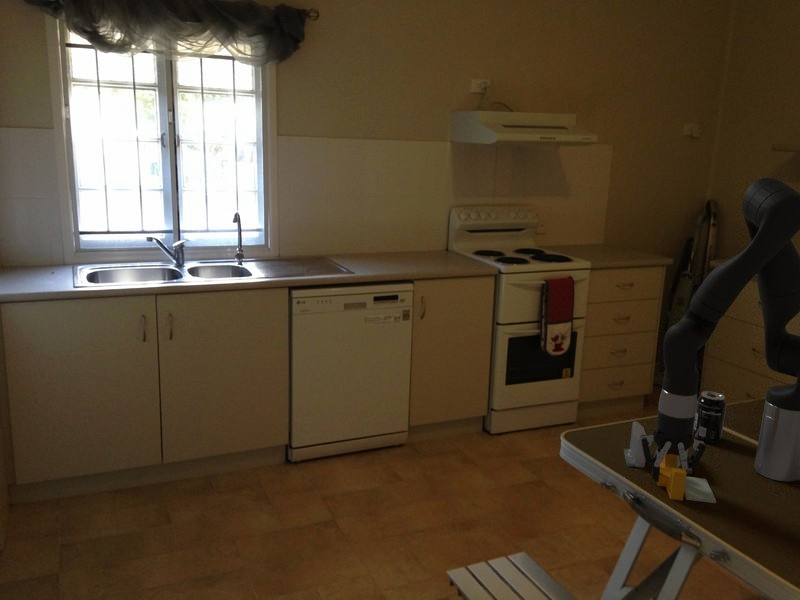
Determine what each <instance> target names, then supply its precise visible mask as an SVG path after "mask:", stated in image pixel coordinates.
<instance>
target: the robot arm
mask: <svg viewBox="0 0 800 600" xmlns="http://www.w3.org/2000/svg"><path fill="white" fill-rule="evenodd" d="M741 212H742V216H743V218H744V222H745V224H746V229H747V231H748V234H749V238H750V241H751V242H750V243H749V244H748V245H747V246H746V247H745V249H743V250H742V251H741V252H739V253H738V254H736V255H735V256H733V257H731V258H729V259H728V260H726V261H723V263H721V264H719V265H718V266H716V267H715V268H713V270H711V272H709V274H708V275H707V276H706V277H705V278H704V280H703V282H702V283H701V284H700V286H699V288H698V289H697V290H696V292H695V293H694V295H693V296H692V298H691V300H690V303H689V308H687V311H686V312H685V314H684V315H683V316H682V318H681V319H680V320H679V322H677V323H675V324H673V325H672V326H670V327H669V328H668V329H667V331H666V333H665V335H664V339H663V345H662V351H663V352H662V355H663V364H664V373H663V379H662V387H661V393H660V394H659V400H658V405H657V407H658V410H657V416H656V417H657V418H656V425H655V426H656V427H655V430H654V432H653V434H651V435H646V436H645V435H644V434H642V435H641V436H640V438H641V443H642V448H643V452H644V457H645V464H646V463H647V464H650V465H651V471H650V476H651V478H652V480H654V482H655V483H656V482H658V481H659V473H660V464H661V462H662V461H663V459H664V457H665V455H666V454H674V455H678V456H679V460H680V466H679V467H678V468H680V469H685V470H686V473H687V469H689V468H691V469H696V468H697V467H698V465H699V463H700V461H701V460H702V457H703V455H704V453H705V451H706V449H707V446H706V444H705V443H706V442H703V441H702V440H699V439H695V438H694V435H693V428H694V421H695V414H696V407H697V401H698V397H697V395H698V394H697V393H698V386H699V378H700V374H699V373H700V371H699V368H698V367H697V365H696V364H697V354H698V351H699V350H700V349H702V348H703V347H704V346H705V345H706V343H707V342H708V341H709V340H710V338H711V336H712V335H713V333H714V331H715V330H716V327H717V326H718V324H719V322H720V320H721V319H722V318H723V316H724V315H725V314H726V313H727V312H728V310H729V309H730V308H731V306H732V305H733V303H734V302H735V301H736V299H737V298H738V296H739V295H740V294H741V292H742V291H743V290H744V288H745V287H746V286H748V284H749V283H750V281H751V280H752V279H753V278H754V277H756V282H757V285H756V286H757V290H758V296H759V302H760V306H761V311H762V313H761V314H762V319H763V326H764V327H763V328H764V329H763V331H764V356H765V362H766V365H767V367H768V368H769V369H770V370H772V371H773V372H776V373H780V374H783V375H786V376H790V377H794V378H797V379H796V382H795V383H793V384H782V385H781V384H780V385H774V386H771V387H769V388H768V389H767V392H766V396H765V397H766V398H765V402H764V407H763V413H762V418H761V419H762V420H761V426H760V432H759V436H758V437H759V438H758V443H757V448H756V454H755V459H754V464H753V465H754V466H753V468H754V469H753V470H754V471H755V472H756V473H758V475H761V476H762V477H765V478H767V479H770V480H775V481H778V482H794V481H800V335H797V334H794V333H793V334H792V333H790V332H788V331H787V325H788V324H789V323H790V322H791V321H792V320H793V319H794V318H795V317H796V316H797V315H798V314H800V254H799V253H798V250H797V249H796V247H795V245H794V243H793V241H792V239H793V238H794V237H795V235H797V233H798V232H799V231H800V192H798V191H797V190H795V189H794V188H793V187H791V186H790V185H788V184H787V183H785V182H783V181H781V180H779V179H777V178H775V177H774V178H773V177H761V178H759V179H756V180H755V181H754V182H752V183H751V184H750V185H749V186H748V187H747V188H746V191H745V192H744V194H743V197H742V201H741ZM653 441H654V442H655V444H656V446H657V448H656V450H655V453H654V455H653V456H652V455H651V451H650V446H652V444H653V443H652V442H653ZM691 446H693V449H694V450H693V451H692V453H691V455H690V458H689V459H688V458H687V459H686V454H685V451H686V450H687V449H688V450H689V448H691ZM687 474H688V473H687Z"/></svg>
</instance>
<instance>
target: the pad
mask: <svg viewBox="0 0 800 600" xmlns="http://www.w3.org/2000/svg"><path fill="white" fill-rule="evenodd" d="M683 496H684V498H685V499H686V500H688V501H695V502H696V501H697V502H705V503H711V504H716V503H717V500H716V497H715V495H714V493H713V491H712V489H711V486H710V485H709V483H708V480H707V478H701V477H693V476H686V482H685V489H684V495H683Z"/></svg>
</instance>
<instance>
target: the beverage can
mask: <svg viewBox="0 0 800 600" xmlns="http://www.w3.org/2000/svg"><path fill="white" fill-rule="evenodd" d="M700 394H701V395H699V396H698V397H697V405H696V412H695V420H694V427H693V437H695V438H696V440H698V441H700V440H702V441H703V442H704V443H708V444H710V443H711V444H712V443H717V442H718V441H720V440H721V439H722V435H723V430H724V423H725V419H726V418H725V417H726V412H727V411H726V410H727V401H726V400H725V399H726V396H725V394H722V393H719V392H717V391H710V390H709V391H707V390H706V391H701V393H700Z"/></svg>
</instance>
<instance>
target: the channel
mask: <svg viewBox="0 0 800 600" xmlns="http://www.w3.org/2000/svg"><path fill="white" fill-rule="evenodd" d="M642 434H644V435H645V436H647V434H646V432H645V428H644V426H643V425H641V423H639V422H638V421H635V420H634V421H632V425H631V433H630V441H629V448H623V454H624V458H625V462H626V463H625V464H626V466H627V467H630V468H639V469H645V466H646V465H645V464H646V460H645V457H644V452H643V448H642V443H641V438H640V436H641V435H642ZM685 454H686V459H687V460H688V454H689V448H688V449H687V450H686V451H685ZM679 466H680V460H679V456H677V468H678V467H679ZM687 474H689V475H693V468H689V469H687Z"/></svg>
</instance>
